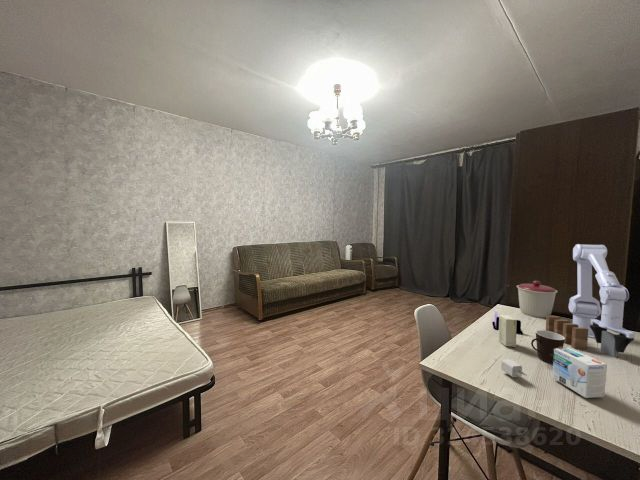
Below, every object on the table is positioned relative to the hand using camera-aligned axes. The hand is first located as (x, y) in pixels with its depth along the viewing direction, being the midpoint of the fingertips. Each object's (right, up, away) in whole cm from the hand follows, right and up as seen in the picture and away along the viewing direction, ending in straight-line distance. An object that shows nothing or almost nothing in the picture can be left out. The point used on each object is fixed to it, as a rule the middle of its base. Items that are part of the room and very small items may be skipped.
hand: (609, 347), depth 102 cm
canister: (+8, -1, +44) cm, 45 cm away
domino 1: (-6, -2, +19) cm, 20 cm away
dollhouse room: (-23, -2, +26) cm, 35 cm away
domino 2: (-6, -2, +14) cm, 16 cm away
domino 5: (0, -3, 0) cm, 3 cm away
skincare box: (-35, -3, +10) cm, 37 cm away
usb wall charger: (-51, -4, -14) cm, 53 cm away
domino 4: (-7, -3, +5) cm, 9 cm away
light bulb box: (-35, -5, -20) cm, 41 cm away
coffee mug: (-30, -3, -3) cm, 30 cm away
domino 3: (-7, -3, +10) cm, 12 cm away
